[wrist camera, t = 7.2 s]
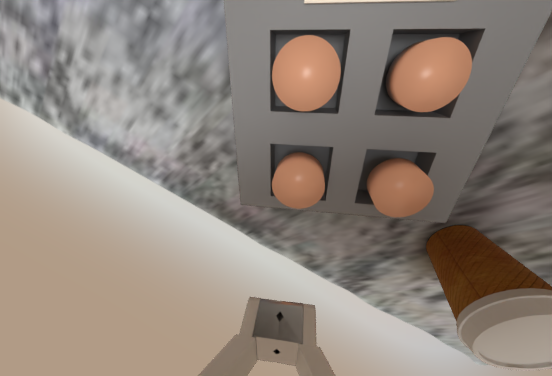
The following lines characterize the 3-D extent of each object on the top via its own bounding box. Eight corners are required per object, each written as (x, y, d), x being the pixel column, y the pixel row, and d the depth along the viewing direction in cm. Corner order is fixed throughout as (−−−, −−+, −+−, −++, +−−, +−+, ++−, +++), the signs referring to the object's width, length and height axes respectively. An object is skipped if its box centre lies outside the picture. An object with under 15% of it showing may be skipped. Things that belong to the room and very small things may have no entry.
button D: (325, 149, 22) (328, 164, 18) (320, 190, 24) (321, 210, 21) (277, 146, 22) (272, 160, 19) (277, 187, 25) (272, 206, 21)
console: (557, -104, 14) (648, -167, 10) (428, 202, 26) (448, 226, 22) (233, -82, 17) (210, -125, 13) (249, 187, 29) (239, 207, 25)
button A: (452, 41, 17) (485, 36, 14) (431, 105, 20) (454, 113, 17) (389, 42, 18) (407, 37, 15) (376, 103, 20) (388, 111, 17)
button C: (422, 154, 21) (443, 171, 17) (406, 197, 23) (422, 219, 20) (369, 151, 21) (380, 167, 18) (359, 194, 24) (367, 214, 20)
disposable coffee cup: (502, 258, 29) (610, 367, 18) (422, 275, 32) (476, 376, 22) (491, 203, 25) (616, 299, 15) (403, 229, 29) (455, 322, 18)
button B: (339, 40, 17) (346, 34, 14) (331, 104, 20) (335, 112, 16) (279, 40, 18) (272, 35, 15) (278, 102, 20) (272, 110, 17)
